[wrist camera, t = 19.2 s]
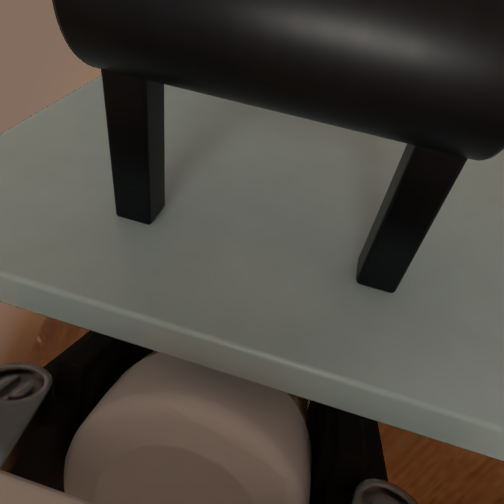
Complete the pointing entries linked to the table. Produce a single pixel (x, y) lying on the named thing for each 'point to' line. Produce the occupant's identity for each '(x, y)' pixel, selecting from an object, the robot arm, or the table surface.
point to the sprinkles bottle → (190, 440)
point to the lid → (279, 199)
